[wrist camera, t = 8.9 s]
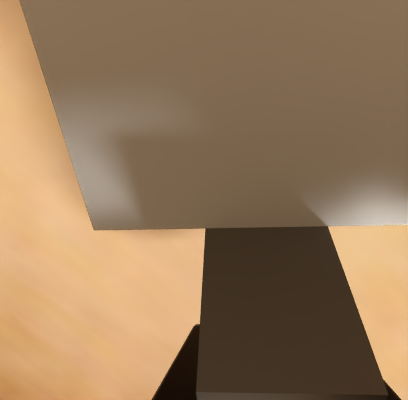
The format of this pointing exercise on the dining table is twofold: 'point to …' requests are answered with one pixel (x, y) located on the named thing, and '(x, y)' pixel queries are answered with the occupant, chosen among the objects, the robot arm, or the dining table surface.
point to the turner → (243, 163)
